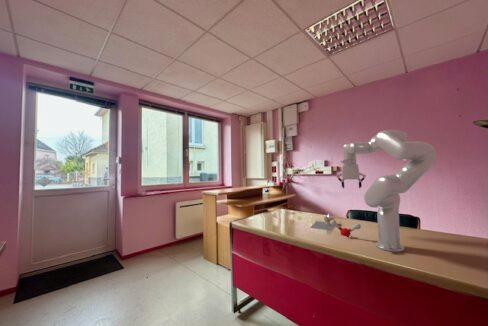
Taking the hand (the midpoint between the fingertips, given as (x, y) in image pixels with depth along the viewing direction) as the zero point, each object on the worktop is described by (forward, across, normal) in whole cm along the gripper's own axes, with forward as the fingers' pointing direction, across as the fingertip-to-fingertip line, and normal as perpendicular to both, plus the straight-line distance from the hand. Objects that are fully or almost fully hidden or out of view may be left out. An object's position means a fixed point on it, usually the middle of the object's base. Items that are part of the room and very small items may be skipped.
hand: (351, 188), depth 135 cm
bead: (+28, -17, +10) cm, 34 cm away
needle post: (+28, -17, +9) cm, 34 cm away
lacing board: (+29, -20, +4) cm, 36 cm away
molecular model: (+30, -4, -11) cm, 32 cm away
